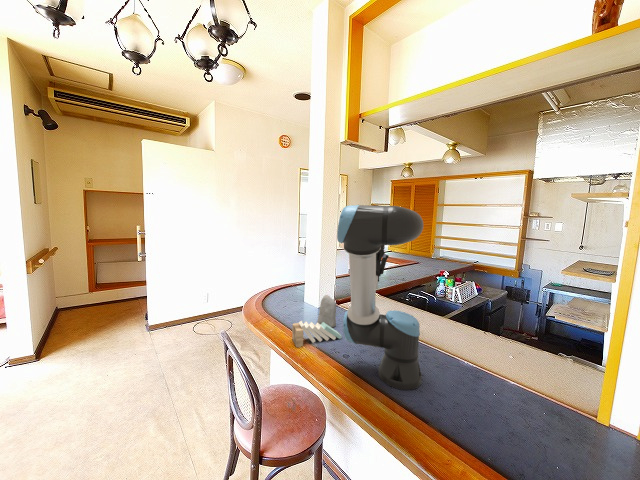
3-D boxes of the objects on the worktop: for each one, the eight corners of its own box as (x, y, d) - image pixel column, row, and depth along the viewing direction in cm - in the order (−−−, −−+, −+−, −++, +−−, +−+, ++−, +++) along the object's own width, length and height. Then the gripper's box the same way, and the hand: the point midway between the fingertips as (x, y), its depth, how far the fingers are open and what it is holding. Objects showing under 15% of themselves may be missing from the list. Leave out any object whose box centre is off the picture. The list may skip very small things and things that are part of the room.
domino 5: (341, 336, 125) (326, 326, 122) (340, 339, 125) (324, 329, 122) (337, 331, 130) (322, 321, 127) (335, 334, 130) (320, 324, 127)
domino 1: (315, 341, 121) (304, 324, 118) (312, 343, 121) (301, 327, 118) (312, 336, 126) (301, 320, 123) (309, 338, 126) (298, 322, 123)
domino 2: (322, 339, 122) (309, 325, 119) (320, 342, 122) (306, 328, 119) (319, 334, 127) (306, 321, 124) (316, 337, 127) (303, 323, 124)
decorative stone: (338, 326, 140) (338, 298, 138) (329, 329, 136) (330, 300, 134) (324, 319, 148) (324, 293, 146) (315, 322, 144) (316, 295, 142)
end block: (303, 346, 118) (303, 330, 117) (296, 347, 117) (296, 331, 116) (298, 338, 125) (298, 322, 125) (292, 339, 124) (292, 323, 124)
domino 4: (336, 337, 124) (320, 326, 121) (334, 340, 124) (318, 329, 121) (332, 332, 129) (317, 322, 126) (330, 335, 129) (315, 325, 126)
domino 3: (329, 338, 123) (314, 326, 120) (327, 341, 123) (312, 328, 120) (325, 333, 128) (311, 321, 125) (323, 336, 128) (309, 324, 125)
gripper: (384, 239, 134) (382, 285, 137) (361, 240, 130) (359, 287, 133) (392, 241, 127) (390, 289, 130) (368, 242, 123) (366, 291, 126)
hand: (374, 288), depth 131 cm, fingers closed
